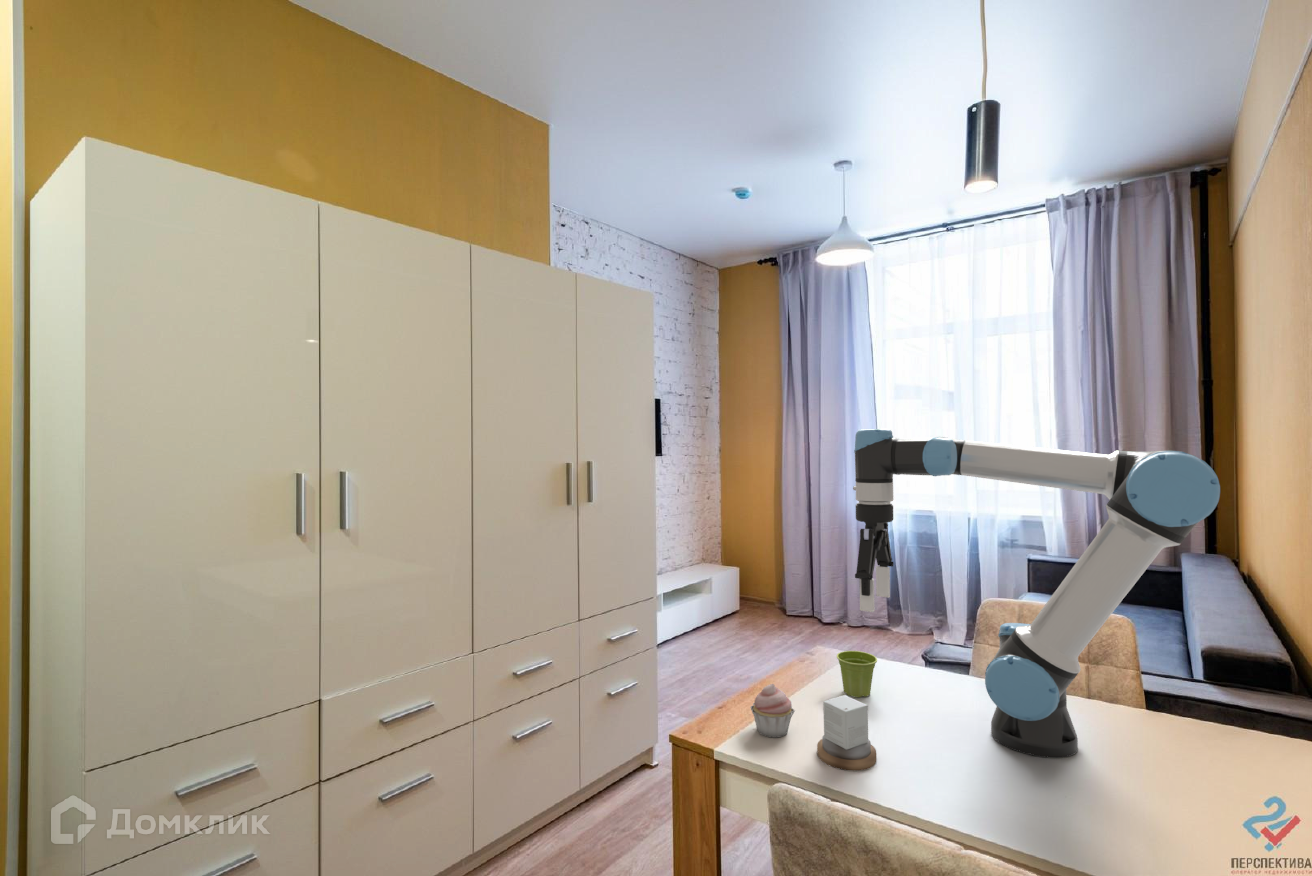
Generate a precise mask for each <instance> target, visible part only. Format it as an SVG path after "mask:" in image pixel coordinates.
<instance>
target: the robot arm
mask: <svg viewBox="0 0 1312 876" xmlns="http://www.w3.org/2000/svg"><path fill="white" fill-rule="evenodd" d="M853 453H854V470H855V471H854V472H855V473H854V474H855V475H854V476H855V485H854V486H853V487H852V489H853V491H855V501H857V503H856V504H855V519H856V521H858V522H862V523H864V524H865V525H864V528H860V530H859V545H858V546H859V547H858V554H857V563H856V571H855V574H854V579H859V611H862V612H868V613H874V612H875V609H876V608H875V594H876V597H881V598H888V599H889V598H891V579H890V578H891V575H890V573H891V571H890V568H891V567H892V568H893V567H894V561H893V558H892V549H891V543H890V535H889V523H892V522H893V521H894V505H893V503H892V502H893V501H894V475H897V476H899V475H903V476H905V475H906V476H908V475H909V476H931V477H941V476H951V475H954V476H955V475H956V476H966V477H971V478H974V477H975V478H981V479H988V480H993V481H995V480H997V481H1003V482H1009V483H1018V484H1026V485H1032V486H1037V487H1038V486H1039V487H1047V488H1052V489H1053V488H1055V489H1062V490H1070V491H1076V492H1083V493H1084V492H1085V493H1093V494H1100V495H1104V496H1105V497H1106V498H1107V499H1108V502H1107V503H1106V504H1105V508H1106V511H1107V515H1108V519H1107V520H1106V522H1105V523H1104V525H1103V526H1102V527H1101V529H1100V530H1099V531H1098V533H1097V534H1096V536H1095V537H1094V538H1093V539H1092V541H1091V542H1090V544H1089V545H1088V546H1087V548H1086V549H1085V550H1084V551H1083V553H1082V554H1081V556H1079V558H1078V559H1077V561H1076V562H1075V564H1074V565H1073V566H1072V568H1071V569H1070V570H1069V572H1068V573H1067V574H1066V576H1065V577H1064V579H1063V580H1062V581H1061V583H1060V584H1059V585H1058V587H1057V589H1056V590H1055V591H1054V592H1053V593H1052V594H1051V596H1050V598H1049V599H1048V600H1047V601H1046V603H1045V605H1044V606H1043V607H1042V609H1041V610H1040V611H1039V613H1038V614H1037V615H1036V617H1035V618H1034V619H1033V620H1032V622H1031V623H1022V622H1021V623H1020V622H1004V623H1003V624H1001V625H1000V626H999V633H998V634H997V635H998V639H999V648H998V650H997V652H996V653H995V655H994V658H993V659H992V660H991V661H990V663H988V664H987V667H986V669H985V674H984V684H985V689H986V693H987V694H988V696H989V698H990V699H991V702H992V703H993V704H995V706H996V707H995V710H994V712H993V715H992V718H991V722H990V729H991V730H990V731H991V732H990V733H991V736H992V737H993V739H994V740H996V741H997V742H998V743H1000V744H1001V745H1003V746H1005V747H1006V748H1009V749H1011V750H1012V751H1013V750H1014V751H1017V752H1020V753H1023V754H1026V755H1031V756H1035V757H1040V758H1053V759H1055V758H1058V759H1059V758H1066V757H1070V756H1073V755H1075V754H1076V753H1077V752H1078V750H1079V742H1078V739H1079V738H1078V735H1077V731H1076V729H1075V726H1074V723H1073V721H1072V718H1071V716H1070V712H1069V710H1068V706H1067V699H1068V698H1067V688H1068V687H1069V686H1070V685H1071V683H1072V682H1073V681H1074V680H1075V678H1076V677H1077V676H1078V674H1079V673H1080V672H1081V669H1082V668H1081V665H1080V662H1079V657H1080V655H1081V653H1082V652H1083V651H1084V650H1085V649H1086V648H1087V646H1088V645H1089V643H1091V641H1092V639H1093V638H1094V637H1095V636H1096V635H1097V633H1098V631H1100V629H1101V628H1102V626H1103V625H1105V623H1106V622H1107V620H1108V619H1109V618H1110V616H1111V615H1112V614H1113V612H1115V610H1116V609H1117V608H1118V606H1119V605H1120V604H1121V603H1122V601H1123V599H1124V598H1125V597H1126V596H1127V594H1129V592H1130V591H1131V590H1132V589H1133V588H1134V586H1135V584H1136V583H1137V582H1138V581H1139V580H1140V578H1141V576H1143V574H1144V573H1145V572H1146V570H1147V569H1148V568H1149V567H1150V565H1151V564H1152V563H1153V562H1154V560H1155V559H1156V558H1157V557H1158V555H1159V554H1160V552H1161V551H1162V550H1163V549H1165V548H1169V547H1170V548H1171V547H1176V546H1180V545H1181V544H1182V543H1183V542H1184V541H1185V539H1186V537H1188V536H1189V534H1190V533H1191V532H1192V530H1193V529H1194V528H1195V526H1197V524H1198V523H1199V522H1201V521H1203V520H1205V519H1206V518H1207V517H1209V516H1210V515H1211V514H1212V513H1213V512H1214V510H1215V509H1216V508H1217V505H1218V503H1219V501H1220V497H1221V484H1220V480H1219V478H1218V475H1217V474H1216V472H1215V471H1214V469H1213V468H1212V467H1211V466H1210V465H1209V464H1208V463H1207V462H1206V461H1205V460H1203V459H1201V458H1199V457H1197V455H1194V454H1193V455H1192V454H1190V453H1187V452H1185V451H1181V450H1180V451H1179V450H1169V449H1166V450H1165V449H1164V450H1163V449H1162V450H1156V451H1155V450H1154V451H1128V450H1115V451H1113V452H1112V453H1110V454H1105V453H1104V454H1103V453H1096V452H1095V453H1093V452H1084V451H1076V450H1074V451H1073V450H1065V449H1064V450H1063V449H1056V448H1044V447H1034V446H1025V445H1015V444H1004V443H998V442H997V443H996V442H995V443H994V442H988V441H987V442H986V441H985V442H983V441H977V440H976V441H975V440H963V439H957V438H949V437H945V436H944V437H943V436H936V437H913V438H900V437H894V435H893V431H892V429H888V428H880V429H879V428H878V429H877V428H876V429H875V428H874V429H873V428H870V429H869V428H868V429H867V428H866V429H858V430H857V432H855V439H854V452H853ZM876 564H877V565H876ZM875 566H876V567H875ZM874 571H875V577H876V578H874V577H873V576H874ZM875 579H876V580H875ZM875 581H876V582H875ZM875 585H876V588H875ZM875 591H876V593H875Z"/></svg>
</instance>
